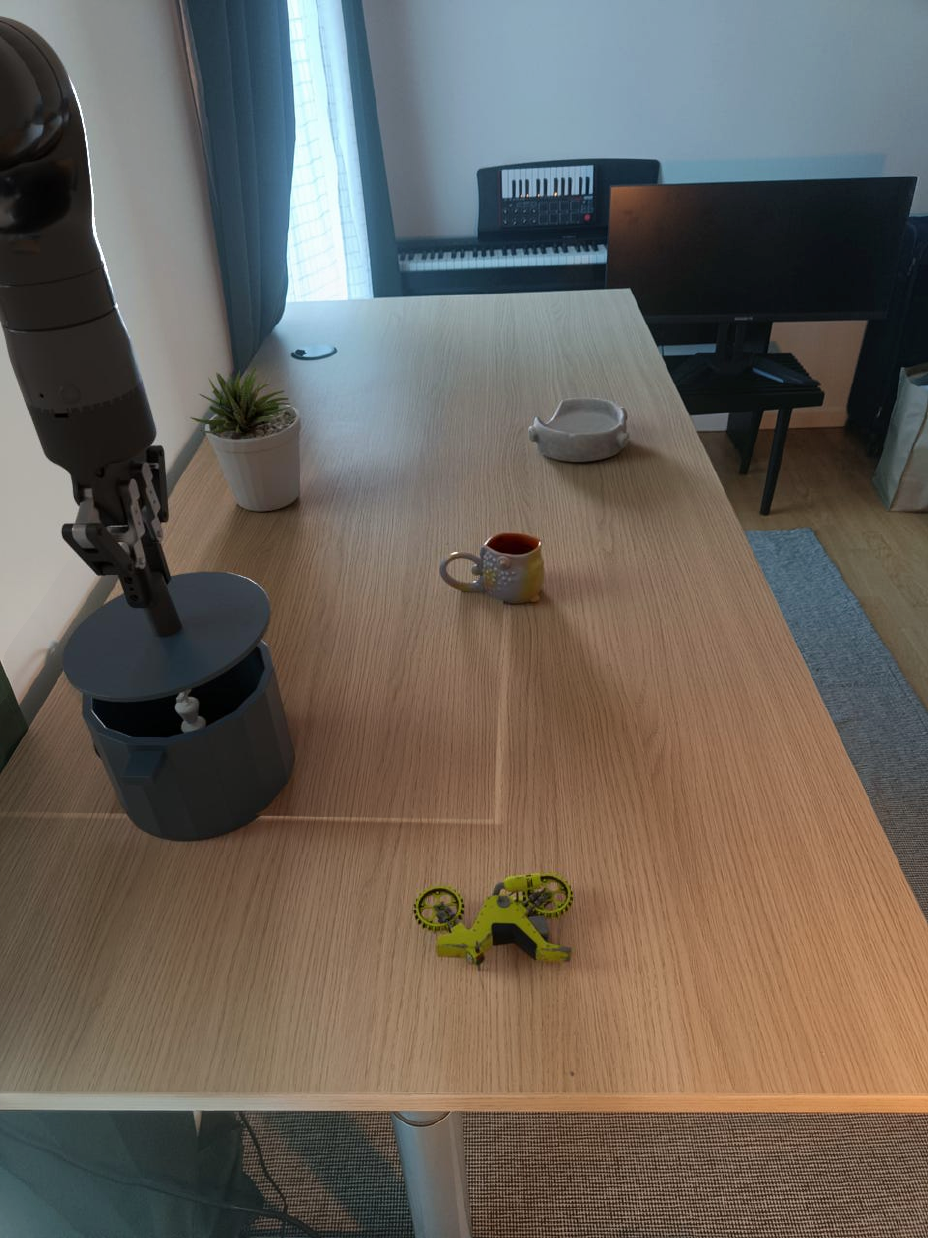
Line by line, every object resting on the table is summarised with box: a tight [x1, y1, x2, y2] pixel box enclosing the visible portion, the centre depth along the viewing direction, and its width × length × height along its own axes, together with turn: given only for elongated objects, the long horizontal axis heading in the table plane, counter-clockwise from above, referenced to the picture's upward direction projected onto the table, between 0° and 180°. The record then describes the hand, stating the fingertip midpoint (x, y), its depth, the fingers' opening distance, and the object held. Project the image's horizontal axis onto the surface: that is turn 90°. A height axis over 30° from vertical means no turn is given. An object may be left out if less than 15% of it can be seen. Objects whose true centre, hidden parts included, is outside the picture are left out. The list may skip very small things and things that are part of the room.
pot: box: [81, 639, 296, 842], centre depth 77 cm, size 16×21×12 cm
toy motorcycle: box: [412, 871, 574, 972], centre depth 64 cm, size 12×4×7 cm
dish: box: [527, 397, 630, 463], centre depth 129 cm, size 14×14×5 cm
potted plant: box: [189, 365, 302, 513], centre depth 116 cm, size 13×14×20 cm
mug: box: [438, 531, 546, 605], centre depth 99 cm, size 12×7×7 cm, turn 90°
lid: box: [61, 571, 272, 702], centre depth 69 cm, size 17×17×6 cm
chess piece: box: [175, 689, 207, 733], centre depth 77 cm, size 5×5×10 cm
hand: (151, 594), depth 68 cm, fingers closed on lid, 2 cm apart
